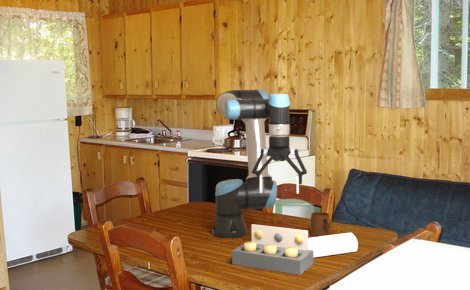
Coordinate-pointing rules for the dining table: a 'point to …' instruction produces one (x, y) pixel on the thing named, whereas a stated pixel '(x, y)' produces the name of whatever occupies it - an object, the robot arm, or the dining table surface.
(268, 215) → the dining table surface
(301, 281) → the dining table surface
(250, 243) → the button left
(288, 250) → the button right
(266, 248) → the button middle
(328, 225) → the mug
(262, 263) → the console
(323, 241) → the crystal
